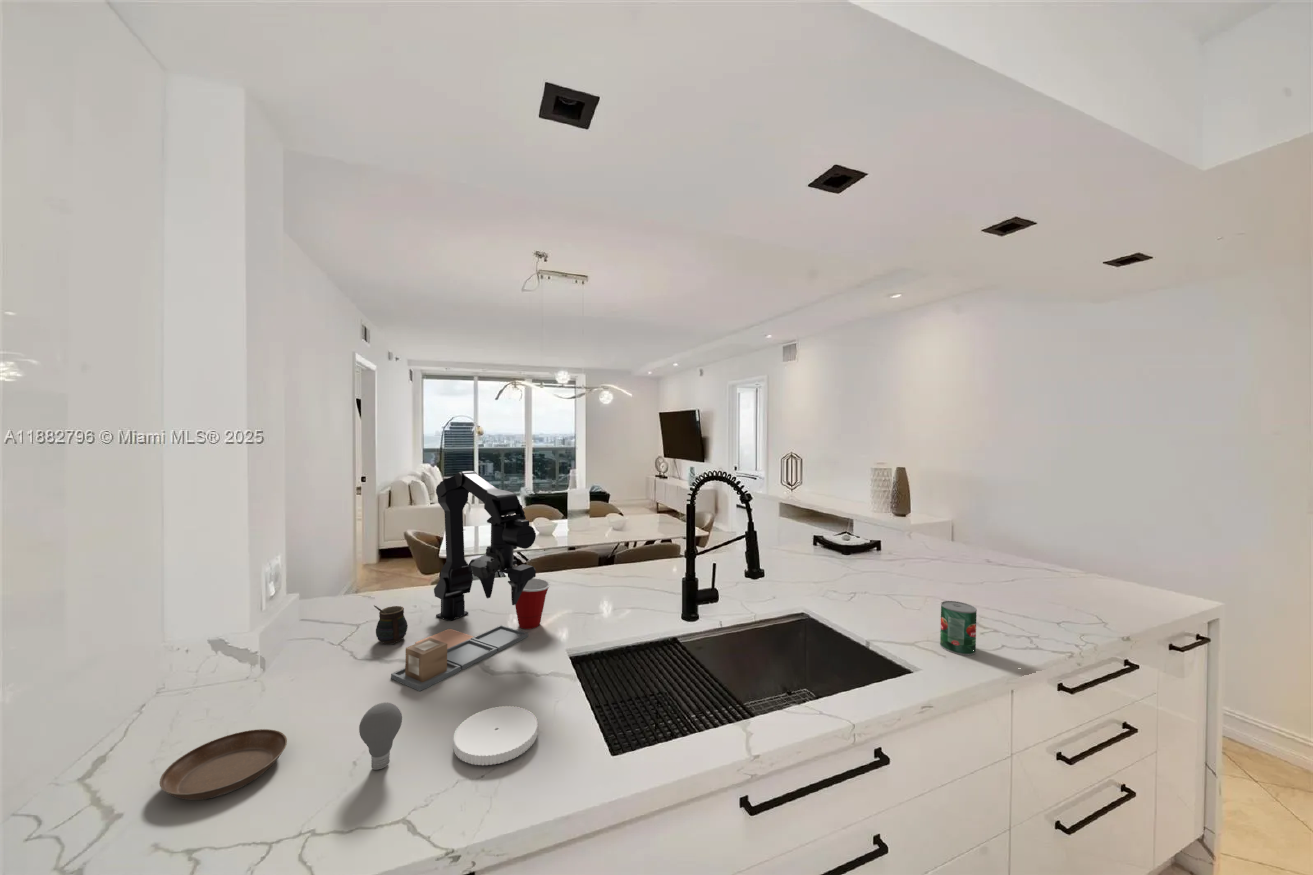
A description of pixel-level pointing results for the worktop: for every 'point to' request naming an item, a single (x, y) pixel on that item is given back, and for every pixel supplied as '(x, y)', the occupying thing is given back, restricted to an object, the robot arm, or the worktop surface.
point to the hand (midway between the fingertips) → (501, 601)
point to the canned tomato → (958, 627)
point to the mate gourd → (391, 625)
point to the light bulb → (380, 732)
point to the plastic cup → (531, 603)
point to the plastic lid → (495, 735)
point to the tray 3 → (500, 637)
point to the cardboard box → (426, 659)
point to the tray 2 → (469, 653)
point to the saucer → (223, 764)
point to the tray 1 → (420, 686)
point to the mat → (449, 637)
